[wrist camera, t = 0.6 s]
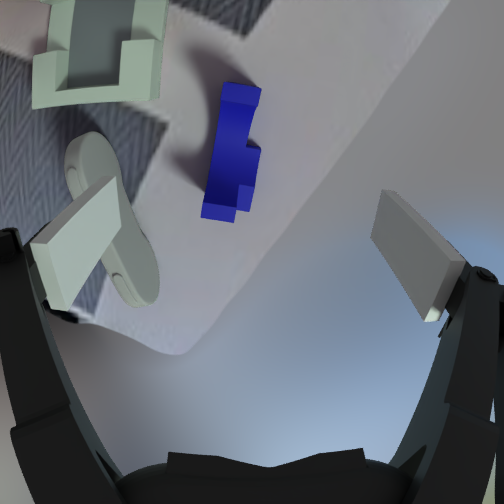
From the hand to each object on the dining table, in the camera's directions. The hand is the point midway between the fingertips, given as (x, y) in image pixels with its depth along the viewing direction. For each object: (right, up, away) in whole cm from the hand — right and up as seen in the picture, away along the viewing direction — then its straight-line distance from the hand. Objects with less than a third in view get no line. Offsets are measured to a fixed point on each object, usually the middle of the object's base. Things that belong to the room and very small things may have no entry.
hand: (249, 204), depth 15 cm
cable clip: (-1, +9, +16) cm, 18 cm away
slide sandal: (-14, +3, +19) cm, 23 cm away
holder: (-14, +21, +7) cm, 26 cm away
